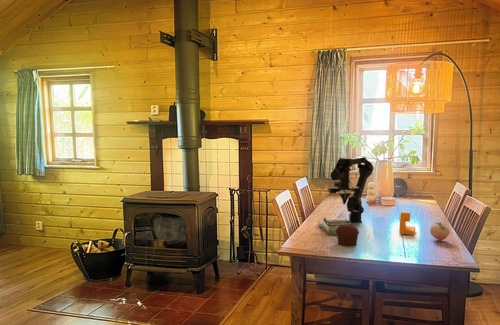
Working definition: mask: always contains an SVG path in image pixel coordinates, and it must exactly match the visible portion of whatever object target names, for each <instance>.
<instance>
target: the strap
mask: <svg viewBox="0 0 500 325" xmlns="http://www.w3.org/2000/svg"><path fill="white" fill-rule="evenodd" d="M344 224H349V223H337V224H329V223H327V225H328V226H341V225H344Z"/></svg>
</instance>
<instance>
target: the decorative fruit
mask: <svg viewBox="0 0 500 325" xmlns="http://www.w3.org/2000/svg"><path fill="white" fill-rule="evenodd" d="M429 230H430V231H429V232H430V235H431V236H432V237H433V238H435V239H437V240H438V241H439V242H440V241H444V240H446V239H447V238H448V237H449V235H450V233H451V232H450V228H448V227H447V226H446V225H444V224H442V222H441V221H439V222H436V223H435V224H432V225H431V227H430V229H429Z"/></svg>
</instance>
